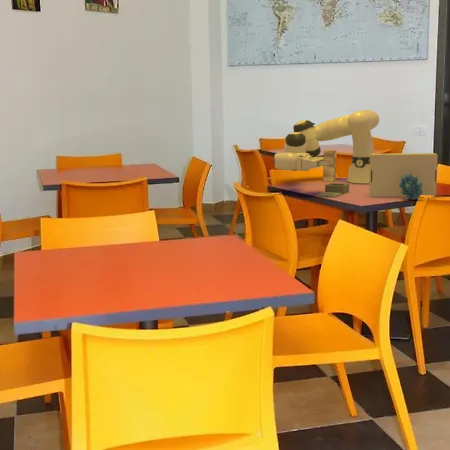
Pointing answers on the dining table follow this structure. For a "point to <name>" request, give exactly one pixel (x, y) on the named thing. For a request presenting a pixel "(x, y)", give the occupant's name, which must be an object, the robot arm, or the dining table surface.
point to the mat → (329, 194)
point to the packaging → (401, 173)
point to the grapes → (411, 186)
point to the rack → (337, 188)
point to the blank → (329, 166)
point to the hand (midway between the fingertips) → (331, 162)
